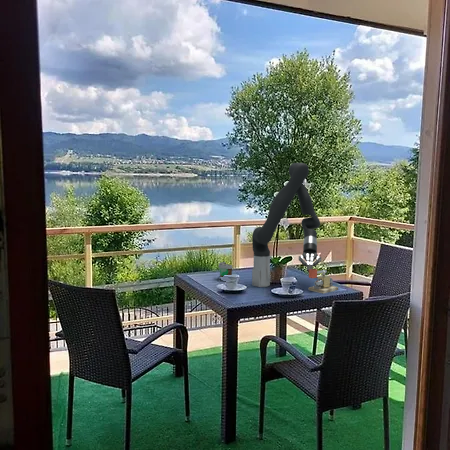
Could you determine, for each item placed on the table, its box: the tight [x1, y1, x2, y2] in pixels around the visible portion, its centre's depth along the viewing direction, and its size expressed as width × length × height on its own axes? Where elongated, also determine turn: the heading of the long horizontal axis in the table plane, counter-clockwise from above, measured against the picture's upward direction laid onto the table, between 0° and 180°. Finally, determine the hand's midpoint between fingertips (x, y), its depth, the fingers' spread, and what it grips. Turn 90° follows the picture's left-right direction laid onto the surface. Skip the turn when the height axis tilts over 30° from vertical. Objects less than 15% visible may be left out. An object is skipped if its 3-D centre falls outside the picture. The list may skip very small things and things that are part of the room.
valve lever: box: [308, 268, 328, 279], centre depth 257 cm, size 12×3×5 cm, turn 127°
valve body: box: [313, 275, 334, 289], centre depth 260 cm, size 12×4×6 cm, turn 130°
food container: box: [217, 261, 233, 278], centre depth 284 cm, size 12×6×10 cm, turn 21°
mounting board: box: [308, 285, 339, 294], centre depth 261 cm, size 13×10×2 cm
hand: (309, 271), depth 256 cm, fingers closed
